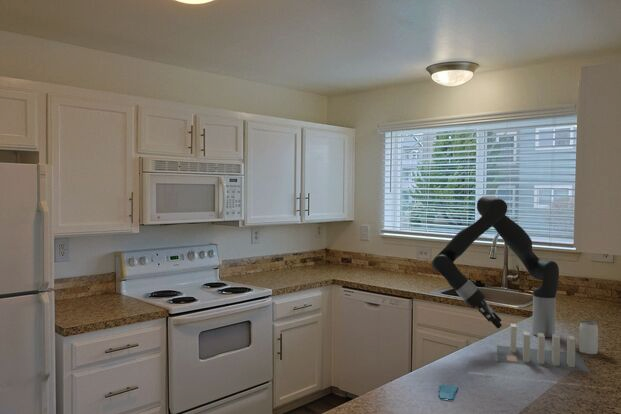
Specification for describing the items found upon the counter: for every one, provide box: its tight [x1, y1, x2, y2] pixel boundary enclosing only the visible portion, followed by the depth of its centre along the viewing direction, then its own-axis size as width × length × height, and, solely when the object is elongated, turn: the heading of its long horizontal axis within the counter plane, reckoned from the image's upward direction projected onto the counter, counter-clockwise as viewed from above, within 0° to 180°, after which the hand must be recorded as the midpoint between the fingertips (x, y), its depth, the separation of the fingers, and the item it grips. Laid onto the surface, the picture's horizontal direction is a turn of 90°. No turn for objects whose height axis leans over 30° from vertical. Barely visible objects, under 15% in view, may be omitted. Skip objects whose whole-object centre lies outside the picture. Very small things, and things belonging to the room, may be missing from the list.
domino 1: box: [509, 323, 518, 352], centre depth 204 cm, size 5×2×10 cm, turn 161°
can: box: [578, 320, 599, 355], centre depth 204 cm, size 6×6×12 cm
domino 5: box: [566, 334, 576, 367], centre depth 188 cm, size 5×2×10 cm, turn 161°
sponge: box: [438, 383, 459, 401], centre depth 162 cm, size 2×12×6 cm
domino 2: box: [522, 331, 531, 362], centre depth 193 cm, size 5×2×10 cm, turn 161°
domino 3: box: [536, 333, 546, 364], centre depth 191 cm, size 5×2×10 cm, turn 161°
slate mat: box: [496, 344, 590, 373], centre depth 196 cm, size 22×30×1 cm
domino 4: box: [551, 333, 561, 365], centre depth 189 cm, size 5×2×10 cm, turn 161°
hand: (499, 324), depth 206 cm, fingers open, 8 cm apart
